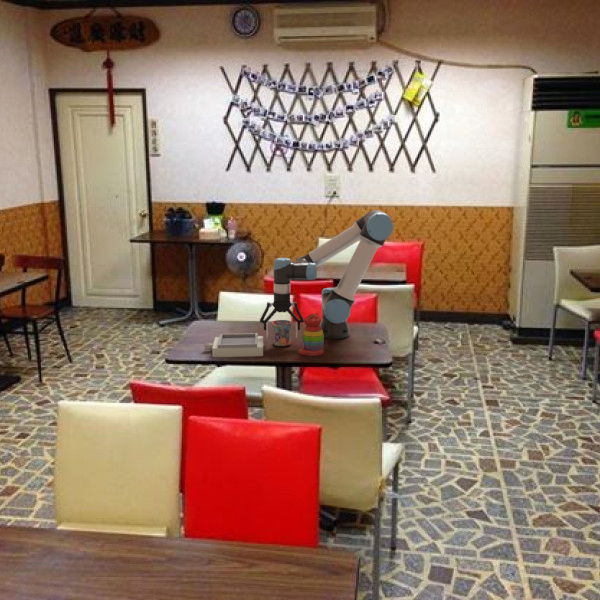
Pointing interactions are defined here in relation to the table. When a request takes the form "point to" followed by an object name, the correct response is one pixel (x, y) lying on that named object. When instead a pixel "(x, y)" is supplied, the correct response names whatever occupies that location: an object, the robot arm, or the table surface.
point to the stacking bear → (312, 336)
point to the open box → (236, 345)
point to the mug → (281, 332)
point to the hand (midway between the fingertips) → (281, 336)
